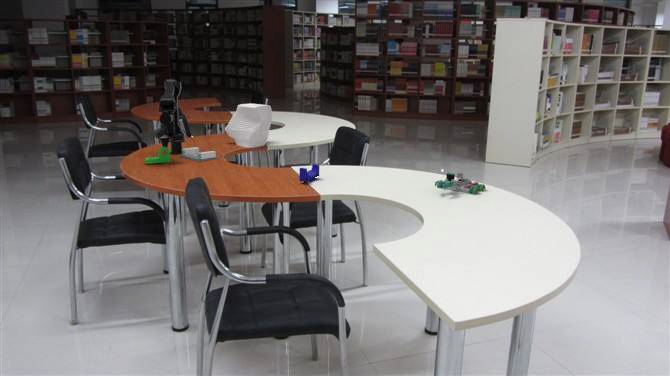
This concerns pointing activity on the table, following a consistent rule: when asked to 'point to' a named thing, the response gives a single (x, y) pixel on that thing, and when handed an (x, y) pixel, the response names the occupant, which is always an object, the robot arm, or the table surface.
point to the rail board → (198, 154)
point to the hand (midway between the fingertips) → (170, 152)
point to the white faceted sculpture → (250, 125)
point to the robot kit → (460, 184)
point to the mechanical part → (161, 157)
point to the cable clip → (309, 173)
